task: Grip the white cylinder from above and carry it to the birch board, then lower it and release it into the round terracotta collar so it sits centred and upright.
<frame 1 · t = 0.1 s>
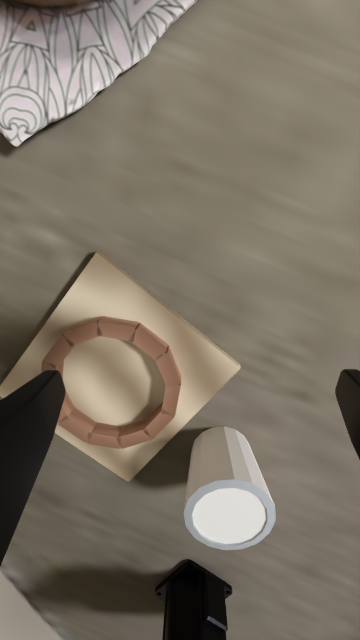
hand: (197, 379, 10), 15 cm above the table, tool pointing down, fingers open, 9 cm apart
white cylinder: (220, 449, 29), on the table
collar board: (117, 375, 27), on the table
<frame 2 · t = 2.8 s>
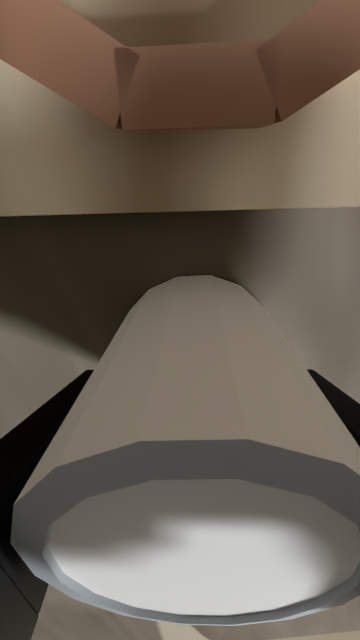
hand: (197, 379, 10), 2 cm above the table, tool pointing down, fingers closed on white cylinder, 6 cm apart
white cylinder: (196, 340, 11), on the table, touching gripper
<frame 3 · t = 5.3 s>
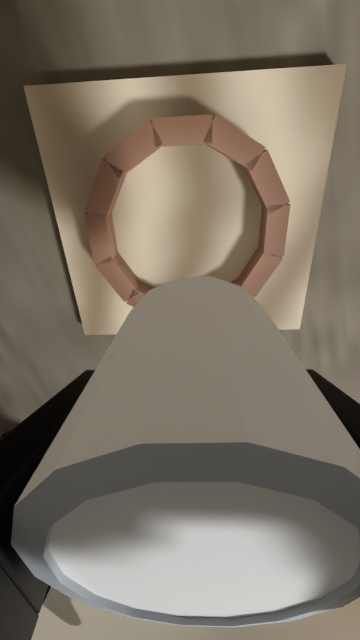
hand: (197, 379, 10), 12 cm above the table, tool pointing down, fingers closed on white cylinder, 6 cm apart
white cylinder: (196, 341, 11), point 10 cm above the table, touching gripper
collar board: (186, 226, 19), on the table
when the fingers open (5 cm above the table, at t = 7.7 s): white cylinder drops 2 cm, resting on collar board.
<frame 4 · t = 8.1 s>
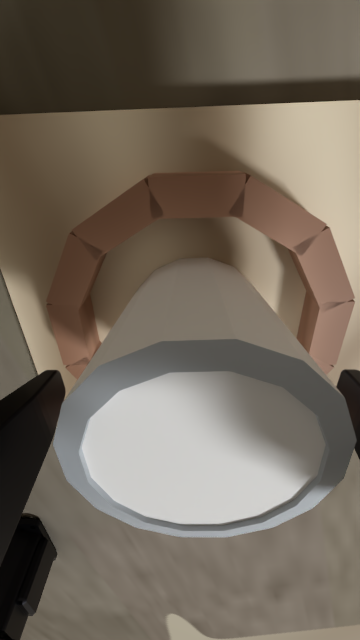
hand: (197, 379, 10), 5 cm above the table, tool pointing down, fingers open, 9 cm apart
white cylinder: (195, 317, 13), point 1 cm above the table, touching collar board
collar board: (196, 306, 14), on the table
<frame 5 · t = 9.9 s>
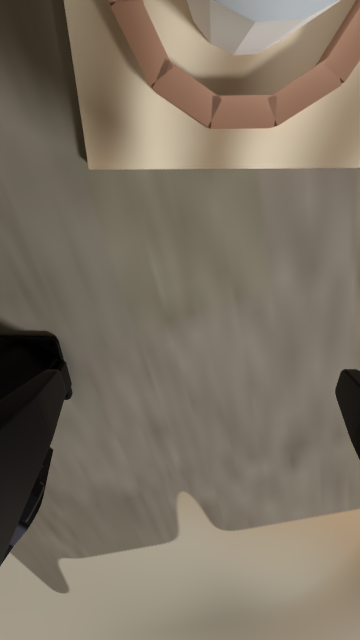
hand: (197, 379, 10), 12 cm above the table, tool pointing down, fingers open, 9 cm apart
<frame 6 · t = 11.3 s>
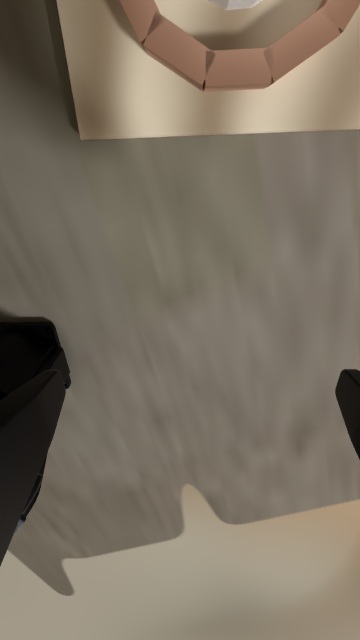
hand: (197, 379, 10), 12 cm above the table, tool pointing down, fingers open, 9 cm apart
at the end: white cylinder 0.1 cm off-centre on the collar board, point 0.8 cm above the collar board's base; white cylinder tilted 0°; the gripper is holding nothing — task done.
